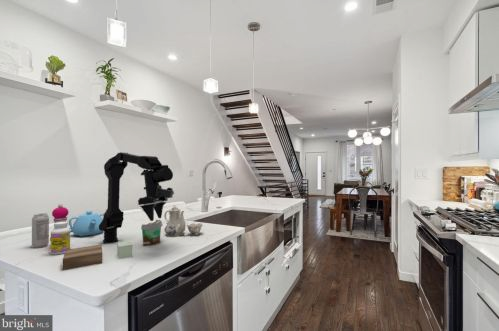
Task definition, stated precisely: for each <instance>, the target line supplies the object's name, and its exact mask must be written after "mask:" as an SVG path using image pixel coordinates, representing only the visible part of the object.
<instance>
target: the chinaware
mask: <svg viewBox="0 0 499 331" xmlns="http://www.w3.org/2000/svg"><path fill="white" fill-rule="evenodd" d="M167 213H168V215H169V218H168V219H167ZM184 213H185V211H184V210H182V209H179V208H178V206H176V204H174V205H173V207H172V208H171V209H169V210H166V211H165V213H164V216H163V217H164V220H165V221H166V226H165V227H164V230H163V231H164V233H165V234H166V236H167V237H171V238H172V237H174V238H175V237H181V236H183V233H184V232H185V231H186V227H187V230H188V232H189V233H190V234H191V236H198V235H199V233H200V232H201V230H202V227H203V226H204V224H202V223H195V222H193V223H190V224H186V221H185V218H184Z"/></svg>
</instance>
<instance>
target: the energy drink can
mask: <svg viewBox="0 0 499 331" xmlns="http://www.w3.org/2000/svg"><path fill="white" fill-rule="evenodd" d="M49 237H50V216H49V215H48V213H47V212H46V213H45V212H44V213H35V214H33V216H32V217H31V246H32V248H33V249H42V248H46V247H47V246H48V244H49V243H50V238H49Z"/></svg>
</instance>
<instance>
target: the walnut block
mask: <svg viewBox="0 0 499 331" xmlns="http://www.w3.org/2000/svg"><path fill="white" fill-rule="evenodd" d="M100 264H103V245H102V244H97V245H89V246H88V245H87V246H82V247H75V248H70V249H67V250H66V252H65V253H64V254H63V257H62V271H66V270H73V269H78V268H82V267H90V266H95V265H100Z"/></svg>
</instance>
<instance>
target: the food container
mask: <svg viewBox="0 0 499 331" xmlns="http://www.w3.org/2000/svg"><path fill="white" fill-rule="evenodd" d="M140 227H141V228H140V229H141V231H142V232H141V233H142V246H143V247H144V246H147V247H148V246H155V245H157V244H160V242H161V234H162V232H161V230H162V227H163V222H162V219H161V220H160V219H155V221H154V222H153V221H152V222H148V223H147V224H141V226H140Z"/></svg>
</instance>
